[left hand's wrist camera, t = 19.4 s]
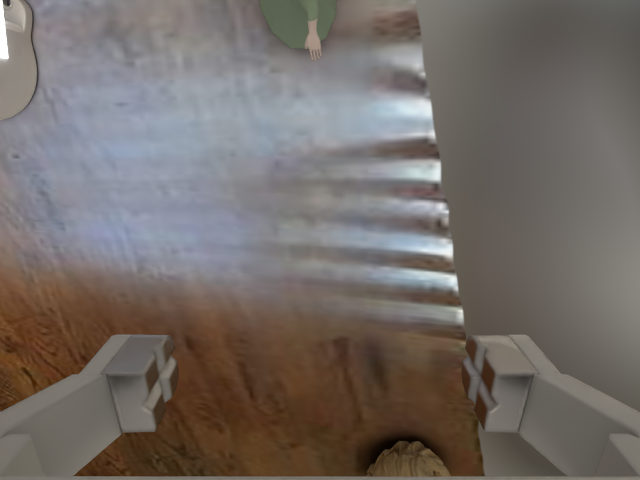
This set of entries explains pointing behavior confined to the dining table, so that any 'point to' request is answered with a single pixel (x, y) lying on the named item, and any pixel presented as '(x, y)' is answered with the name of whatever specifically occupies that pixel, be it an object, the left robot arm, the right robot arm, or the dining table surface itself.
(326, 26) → the character figurine
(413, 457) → the fossil
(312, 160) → the dining table surface
